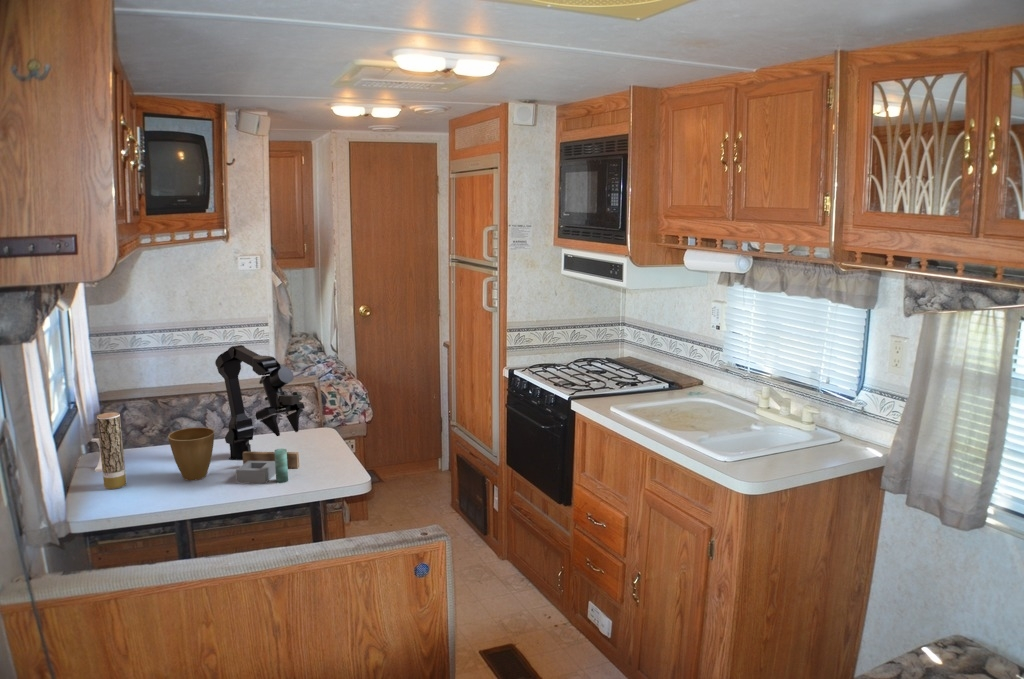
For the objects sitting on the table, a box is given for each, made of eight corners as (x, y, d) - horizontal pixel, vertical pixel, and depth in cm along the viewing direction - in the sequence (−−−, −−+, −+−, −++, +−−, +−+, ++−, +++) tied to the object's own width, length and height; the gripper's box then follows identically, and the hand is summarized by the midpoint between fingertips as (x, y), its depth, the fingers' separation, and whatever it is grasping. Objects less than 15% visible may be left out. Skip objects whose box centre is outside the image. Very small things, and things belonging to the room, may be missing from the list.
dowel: (274, 482, 265) (272, 452, 263) (278, 478, 269) (276, 448, 267) (285, 483, 265) (284, 452, 263) (289, 479, 269) (288, 448, 267)
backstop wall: (243, 467, 281) (242, 453, 280) (245, 465, 282) (244, 451, 282) (297, 468, 279) (296, 454, 278) (299, 466, 281) (298, 452, 280)
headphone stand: (94, 471, 277) (91, 439, 275) (102, 466, 283) (99, 434, 281) (107, 471, 278) (104, 439, 276) (115, 465, 284) (112, 434, 281)
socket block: (236, 482, 266) (236, 470, 265) (248, 472, 275) (247, 460, 275) (265, 483, 265) (264, 470, 264) (276, 473, 275) (275, 461, 274)
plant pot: (163, 478, 270) (160, 434, 267) (204, 467, 281) (200, 424, 279) (185, 488, 261) (181, 442, 258) (225, 476, 272) (222, 432, 269)
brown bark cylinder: (111, 491, 258) (104, 418, 254) (100, 487, 262) (92, 416, 257) (130, 485, 264) (124, 414, 260) (119, 481, 267) (112, 411, 263)
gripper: (271, 386, 259) (285, 430, 257) (308, 381, 276) (322, 422, 274) (248, 397, 264) (262, 440, 262) (286, 392, 281) (300, 432, 279)
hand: (288, 433), depth 269 cm, fingers open, 9 cm apart
